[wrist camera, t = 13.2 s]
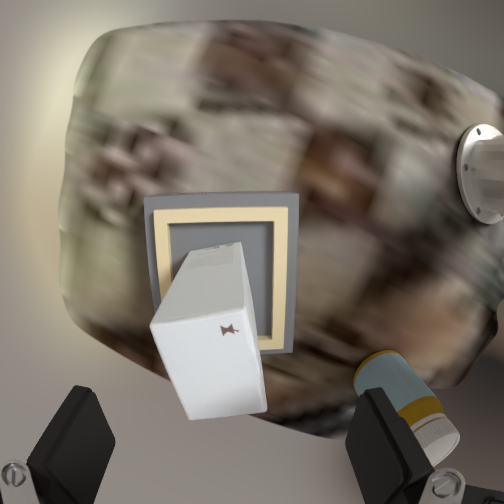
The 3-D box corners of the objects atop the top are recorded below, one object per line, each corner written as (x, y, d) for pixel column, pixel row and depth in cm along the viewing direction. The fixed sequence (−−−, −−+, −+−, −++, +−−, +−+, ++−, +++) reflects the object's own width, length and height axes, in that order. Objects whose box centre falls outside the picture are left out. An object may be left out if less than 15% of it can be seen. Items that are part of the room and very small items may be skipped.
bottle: (398, 338, 31) (469, 416, 16) (401, 377, 33) (457, 453, 18) (347, 361, 31) (401, 456, 16) (354, 399, 33) (398, 486, 18)
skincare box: (187, 250, 23) (144, 321, 11) (241, 240, 23) (249, 304, 11) (204, 319, 24) (187, 423, 13) (254, 310, 24) (271, 413, 13)
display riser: (289, 191, 26) (301, 194, 21) (285, 331, 29) (294, 357, 25) (156, 194, 25) (140, 198, 21) (169, 333, 29) (159, 359, 24)
